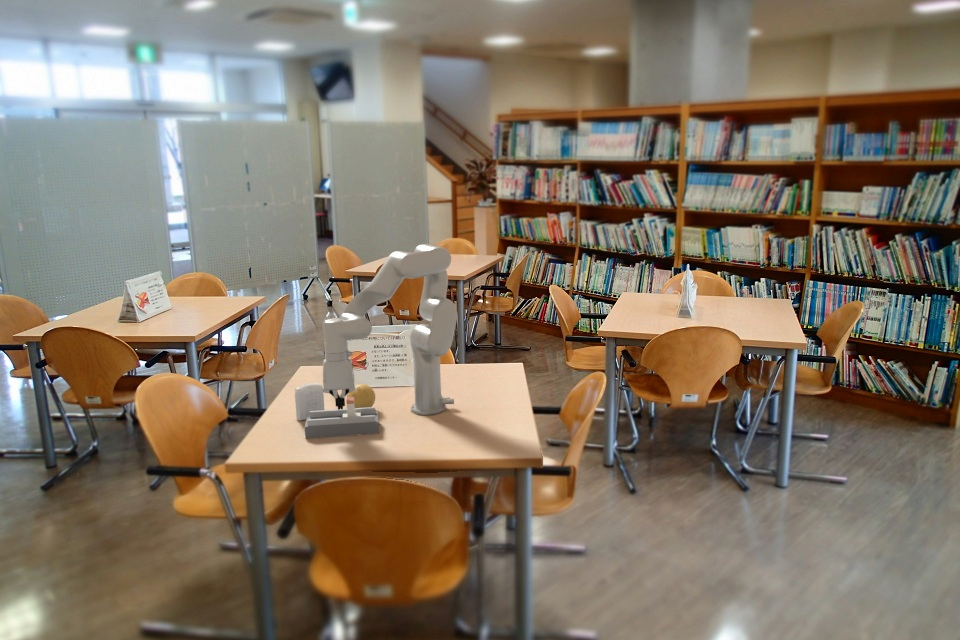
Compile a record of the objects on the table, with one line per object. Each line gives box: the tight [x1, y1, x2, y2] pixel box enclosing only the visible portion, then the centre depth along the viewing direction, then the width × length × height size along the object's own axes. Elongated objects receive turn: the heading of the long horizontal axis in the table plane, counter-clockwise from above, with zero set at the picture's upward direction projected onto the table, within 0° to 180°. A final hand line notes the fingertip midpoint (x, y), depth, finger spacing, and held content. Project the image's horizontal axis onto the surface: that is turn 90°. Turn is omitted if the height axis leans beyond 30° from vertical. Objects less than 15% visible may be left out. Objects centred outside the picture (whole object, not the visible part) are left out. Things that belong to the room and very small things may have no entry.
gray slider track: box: [304, 406, 380, 439], centre depth 245 cm, size 24×10×6 cm, turn 98°
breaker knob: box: [342, 397, 361, 417], centre depth 244 cm, size 6×6×7 cm
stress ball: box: [346, 383, 376, 408], centre depth 262 cm, size 10×10×10 cm
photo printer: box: [294, 382, 325, 421], centre depth 257 cm, size 10×4×12 cm, turn 123°
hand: (340, 408), depth 244 cm, fingers closed
